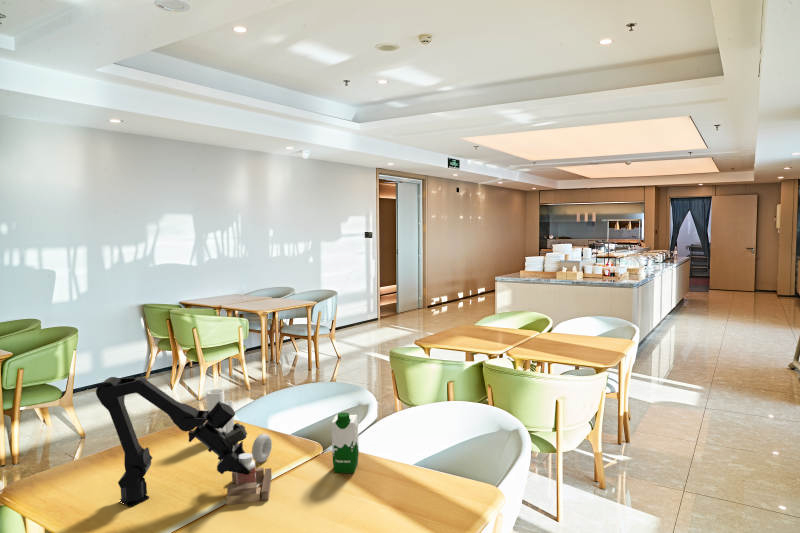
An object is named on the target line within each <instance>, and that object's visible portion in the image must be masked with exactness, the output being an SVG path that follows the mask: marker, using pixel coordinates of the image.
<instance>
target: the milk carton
mask: <svg viewBox="0 0 800 533" xmlns="http://www.w3.org/2000/svg"><path fill="white" fill-rule="evenodd" d="M358 422H359V421H358V415H357V414H350V413H348V412H340V413H338V414H336V415H335V416H334V417H333V419H332V421H331V450H332V451H331V452H332V454H331V456H332V465H333V473H334V474H355V471H356V469H357V467H358V466H359V465H358V462H359V455H360V454H359V453H360V451H359V423H358Z"/></svg>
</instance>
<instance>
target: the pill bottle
mask: <svg viewBox="0 0 800 533" xmlns="http://www.w3.org/2000/svg"><path fill="white" fill-rule="evenodd" d="M239 460H240V461H241V462H242V463H243V464H244V465H245V466H246V468H247V469H248V470H249V471H250V473H249V474H248V475H246V474H241V473H236V483H235V484H241V483H252V482H257V481H256V469H255V468H256V461H255V460H254V458H253V455H252V452H251V453H250V452H245V453H243V454H240V455H239Z"/></svg>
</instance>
